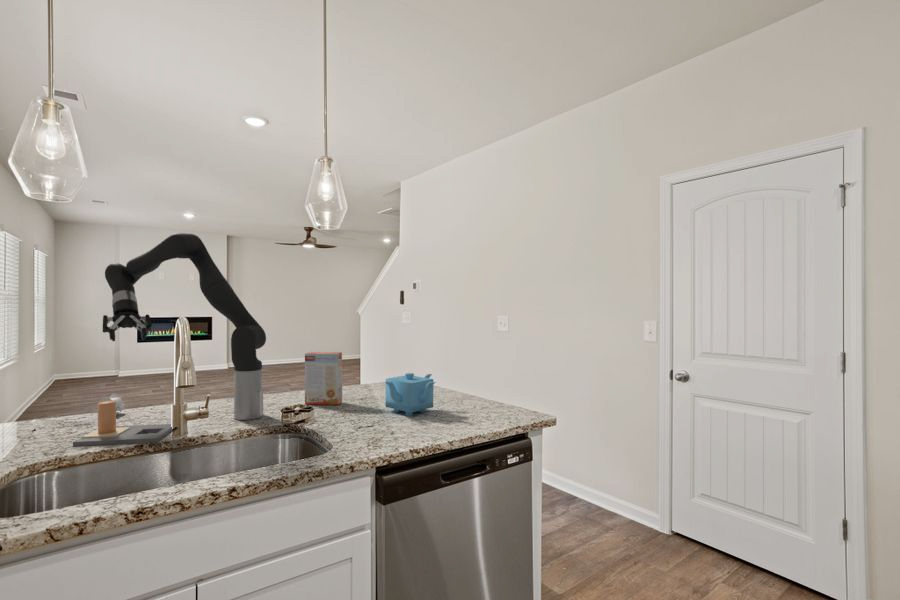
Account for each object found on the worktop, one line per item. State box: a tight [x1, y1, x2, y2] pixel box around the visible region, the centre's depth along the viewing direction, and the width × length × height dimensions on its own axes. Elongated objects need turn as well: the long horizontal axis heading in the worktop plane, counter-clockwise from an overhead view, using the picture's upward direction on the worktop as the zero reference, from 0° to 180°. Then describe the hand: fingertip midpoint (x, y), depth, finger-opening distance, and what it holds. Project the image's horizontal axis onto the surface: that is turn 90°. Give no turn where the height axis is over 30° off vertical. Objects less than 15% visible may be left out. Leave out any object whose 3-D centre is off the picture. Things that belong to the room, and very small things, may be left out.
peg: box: [97, 401, 117, 434], centre depth 144 cm, size 4×4×9 cm
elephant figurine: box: [96, 393, 129, 414], centre depth 171 cm, size 8×10×7 cm
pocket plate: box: [72, 423, 172, 447], centre depth 145 cm, size 22×16×2 cm
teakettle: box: [384, 372, 437, 417], centre depth 177 cm, size 19×19×15 cm
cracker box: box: [304, 351, 343, 406], centre depth 190 cm, size 14×6×21 cm, turn 84°
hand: (129, 339), depth 162 cm, fingers open, 8 cm apart
